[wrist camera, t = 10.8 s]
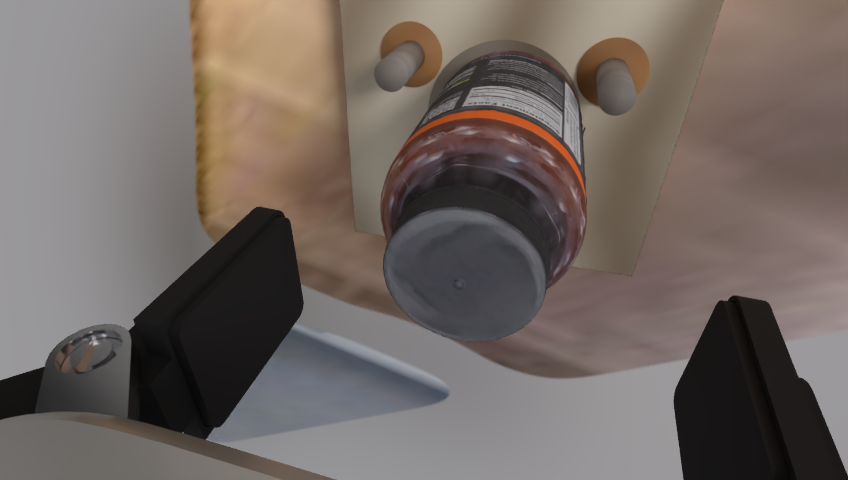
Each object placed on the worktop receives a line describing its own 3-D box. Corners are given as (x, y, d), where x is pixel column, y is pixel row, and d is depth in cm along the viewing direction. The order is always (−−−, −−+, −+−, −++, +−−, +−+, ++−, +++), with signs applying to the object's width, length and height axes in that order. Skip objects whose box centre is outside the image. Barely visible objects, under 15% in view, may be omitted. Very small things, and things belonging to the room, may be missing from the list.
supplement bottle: (529, 205, 23) (499, 405, 14) (416, 140, 23) (309, 302, 13) (614, 95, 19) (650, 266, 10) (483, 15, 19) (399, 120, 10)
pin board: (736, -70, 17) (776, -62, 13) (629, 261, 25) (638, 318, 21) (345, -85, 19) (297, -81, 16) (362, 219, 27) (333, 264, 24)
